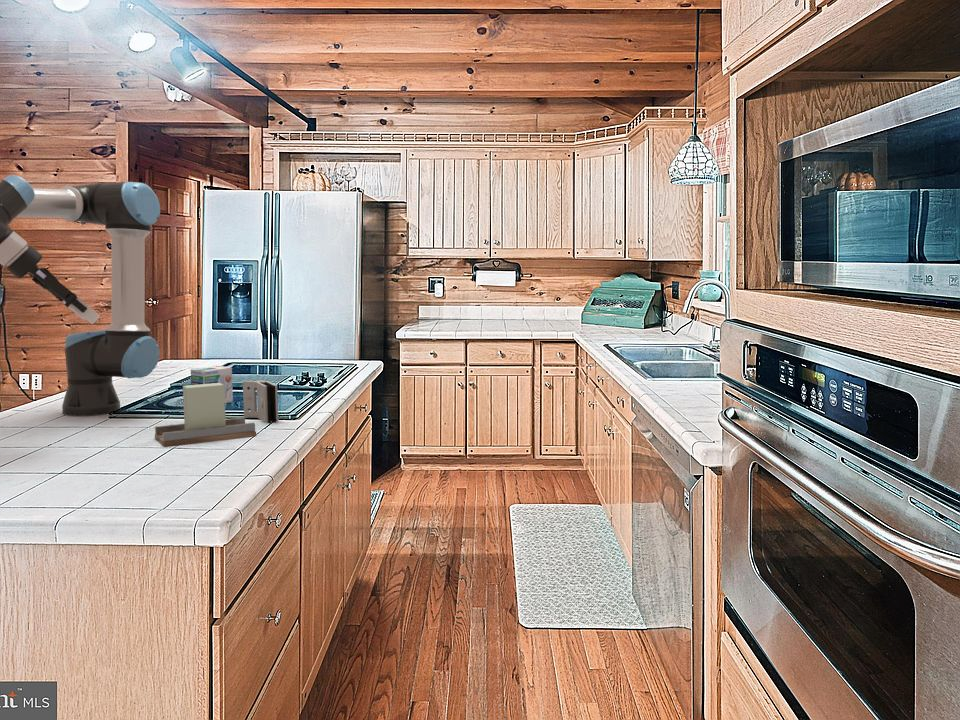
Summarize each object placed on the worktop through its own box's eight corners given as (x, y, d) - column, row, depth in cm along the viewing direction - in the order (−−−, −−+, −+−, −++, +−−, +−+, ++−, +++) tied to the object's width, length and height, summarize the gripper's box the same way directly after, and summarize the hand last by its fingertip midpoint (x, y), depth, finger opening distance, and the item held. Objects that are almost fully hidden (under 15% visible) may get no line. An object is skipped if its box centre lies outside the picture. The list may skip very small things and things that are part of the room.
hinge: (243, 416, 235) (241, 380, 234) (260, 413, 239) (259, 378, 238) (268, 423, 225) (267, 386, 224) (285, 421, 229) (284, 384, 228)
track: (154, 437, 208) (154, 426, 207) (243, 427, 220) (242, 416, 219) (164, 446, 199) (164, 434, 198) (256, 435, 210) (255, 424, 210)
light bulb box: (205, 407, 249) (204, 371, 247) (190, 404, 252) (189, 369, 251) (234, 401, 258) (232, 366, 256) (219, 399, 261) (218, 365, 260)
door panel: (184, 433, 208) (182, 385, 207) (221, 429, 213) (219, 382, 212) (188, 436, 205) (186, 388, 203) (225, 432, 210) (224, 384, 208)
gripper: (1, 266, 203) (73, 325, 213) (8, 268, 183) (88, 334, 192) (24, 244, 206) (95, 303, 215) (34, 244, 185) (111, 310, 195)
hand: (91, 318), depth 204 cm, fingers open, 13 cm apart
